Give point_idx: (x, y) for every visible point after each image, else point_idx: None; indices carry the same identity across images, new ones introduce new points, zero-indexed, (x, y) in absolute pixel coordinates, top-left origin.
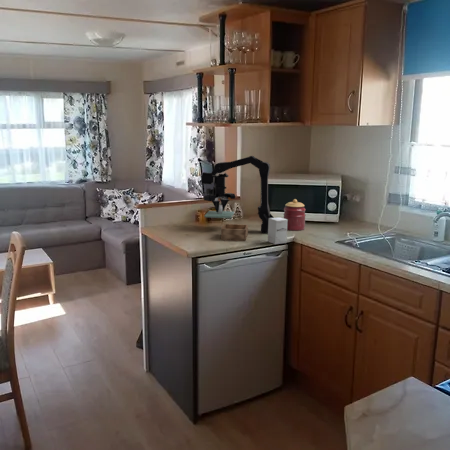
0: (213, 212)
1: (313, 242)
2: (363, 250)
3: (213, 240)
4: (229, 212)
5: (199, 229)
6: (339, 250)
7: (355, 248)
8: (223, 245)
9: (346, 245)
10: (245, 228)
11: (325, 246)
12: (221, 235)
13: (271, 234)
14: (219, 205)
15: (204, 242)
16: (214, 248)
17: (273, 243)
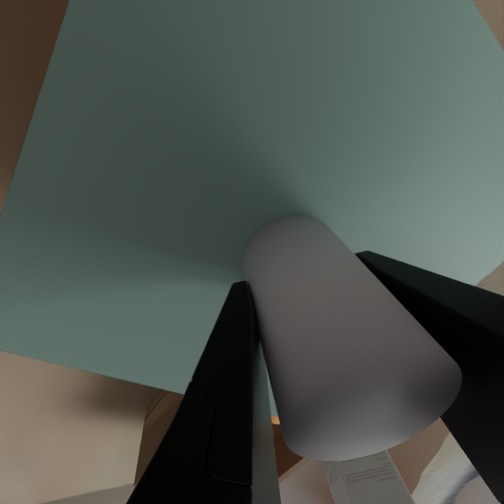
0: (230, 107)
1: (438, 453)
2: (454, 495)
3: (99, 414)
4: (479, 228)
5: (29, 75)
6: (414, 496)
7: (458, 486)
8: (127, 469)
9: (471, 472)
10: (279, 479)
11: (423, 477)
12: (143, 438)
13: (338, 494)
14: (317, 456)
15: (37, 436)
16: (75, 493)
17: (323, 461)
